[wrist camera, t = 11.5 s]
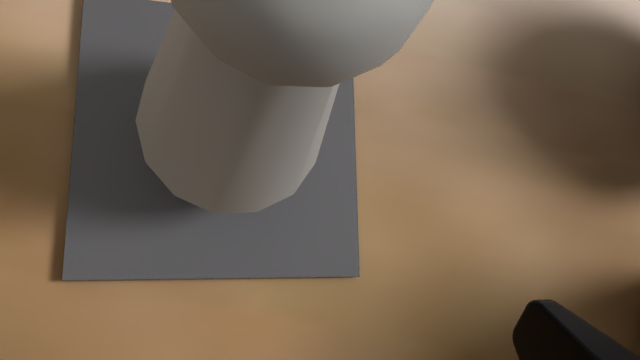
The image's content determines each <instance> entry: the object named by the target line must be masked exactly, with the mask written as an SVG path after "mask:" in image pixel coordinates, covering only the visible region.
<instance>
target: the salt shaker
mask: <svg viewBox="0 0 640 360" xmlns="http://www.w3.org/2000/svg"><path fill="white" fill-rule="evenodd" d="M433 1H434V0H171V2H172V6H173V7H174V8H175V11H174V13H173V16H172V18H171V21H170V23H169V25H168V28H167V30H166V33H165V35H164V38H163V40H162V42H161V45H160V47H159V50H158V52H157V54H156V57H155V59H154V62H153V64H152V67H151V69H150V71H149V74H148V76H147V79H146V81H145V85H144V89H143V93H142V97H141V101H140V104H139V108H138V112H137V116H136V120H135V121H136V125H137V129H138V133H139V138H140V142H141V146H142V150H143V155H144V159H145V162H146V163H147V165H148V166H149V167H150V168H151V169H152V170H153V172H154V173H155V174H156V175H157V176H158V177H159V178H160V180H161V181H162V182H163V183H164V184H165V185H166V187H167V188H168V189H169V190H170V191H171V192H172V194H173V195H175V196H177V197H179V198H181V199H183V200H185V201H187V202H190V203H192V204H194V205H196V206H198V207H200V208H202V209H205V210H207V211H209V212H211V213H214V214H220V213H248V212H258V211H260V210H262V209H264V208H266V207H268V206H271V205H273V204H275V203H277V202H279V201H281V200H283V199H285V198H287V197H289V196H291V195H293V194H294V193H295V192H296V190H297V189H298V187H299V186H300V184H301V183H302V182H303V180H304V179H305V177H306V176H307V174H308V173H309V172H310V170H311V169H312V167H313V166H314V164H315V163H316V160H317V156H318V153H319V150H320V146H321V143H322V140H323V136H324V133H325V130H326V126H327V123H328V120H329V116H330V113H331V110H332V106H333V103H334V100H335V96H336V93H337V90H338V87H339V83H341V82H344V81H346V80H348V79H351V78H353V77H355V76H358V75H360V74H362V73H365V72H367V71H369V70H372V69H374V68H376V67H379V66H381V65H382V64H383V63H385V62H386V61H387V60H388V59H390V58H391V57H392V56H393V55H395V54H396V53H397V52H398V51H399V50H400V49H401V47H402V46H403V45H404V43H405V42H406V40H407V39H408V38H409V36H410V35H411V33H412V32H413V31H414V29H415V28H416V26H417V25H418V24H419V22H420V21H421V19H422V18H423V17H424V15H425V14H426V12H427V11H428V9H429V8H430V6H431V4H432V3H433Z"/></svg>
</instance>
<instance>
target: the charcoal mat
mask: <svg viewBox="0 0 640 360" xmlns="http://www.w3.org/2000/svg"><path fill="white" fill-rule="evenodd" d="M174 11H175V8H174V7H173V6H172V3H166V2H158V1H150V0H84V1H83V14H82V27H81V40H80V53H79V66H78V79H77V92H76V105H75V118H74V131H73V144H72V157H71V170H70V183H69V196H68V209H67V222H66V235H65V248H64V261H63V274H62V280H141V279H219V278H296V277H360V275H359V243H358V212H357V181H356V149H355V118H354V86H353V78H351V79H348V80H346V81H344V82H341V83H339V87H338V90H337V93H336V96H335V100H334V103H333V106H332V110H331V113H330V116H329V120H328V123H327V126H326V130H325V133H324V136H323V140H322V143H321V146H320V150H319V153H318V156H317V160H316V163H315V164H314V166H313V167H312V169H311V170H310V172H309V173H308V174H307V176H306V177H305V179H304V180H303V182H302V183H301V184H300V186H299V187H298V189H297V190H296V192H295V193H294V194H293V195H291V196H289V197H287V198H285V199H283V200H281V201H279V202H277V203H275V204H273V205H271V206H268V207H266V208H264V209H262V210H260V211H258V212H248V213H220V214H214V213H211V212H209V211H207V210H205V209H202V208H200V207H198V206H196V205H194V204H192V203H190V202H187V201H185V200H183V199H181V198H179V197H177V196H175V195H173V194H172V192H171V191H170V190H169V189H168V188H167V187H166V185H165V184H164V183H163V182H162V181H161V180H160V178H159V177H158V176H157V175H156V174H155V173H154V172H153V170H152V169H151V168H150V167H149V166H148V165H147V163H146V162H145V159H144V155H143V150H142V146H141V142H140V138H139V133H138V129H137V125H136V121H135V120H136V116H137V112H138V108H139V104H140V101H141V97H142V93H143V89H144V85H145V81H146V79H147V76H148V74H149V71H150V69H151V67H152V64H153V62H154V59H155V57H156V54H157V52H158V50H159V47H160V45H161V42H162V40H163V38H164V35H165V33H166V30H167V28H168V25H169V23H170V21H171V18H172V16H173V13H174Z"/></svg>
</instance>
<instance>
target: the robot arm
mask: <svg viewBox="0 0 640 360" xmlns="http://www.w3.org/2000/svg"><path fill="white" fill-rule="evenodd" d="M513 343H514V346H515V349H516V352H517V355H518V358H519V360H640V357H638V356H637V355H635V354H634V353H632V352H631V351H629V350H628V349H626V348H625V347H623V346H622V345H620V344H619V343H617V342H616V341H614V340H613V339H611V338H610V337H608V336H607V335H605V334H604V333H602V332H601V331H599V330H598V329H596V328H595V327H593V326H592V325H590V324H589V323H587V322H586V321H584V320H583V319H581V318H580V317H578V316H577V315H575V314H574V313H572V312H571V311H569V310H568V309H566V308H565V307H563V306H562V305H560V304H559V303H557V302H555V301H553V300H532V301H530V302H529V303H528V304H527V306H526V307H525V309H524V311H523V313H522V315H521V317H520V319H519V320H518V322H517V324H516V326H515V328H514V330H513Z"/></svg>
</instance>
